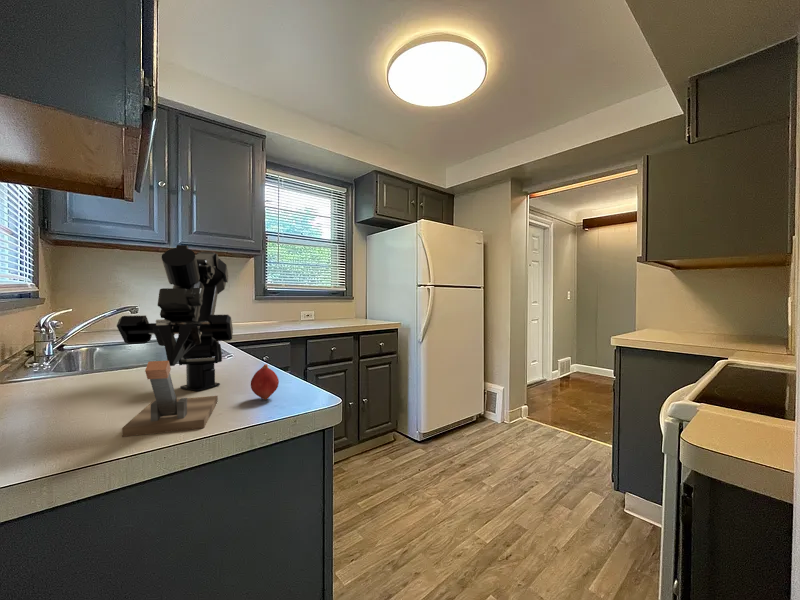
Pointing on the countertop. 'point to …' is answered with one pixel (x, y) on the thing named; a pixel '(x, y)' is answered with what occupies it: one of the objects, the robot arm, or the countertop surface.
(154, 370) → the lever
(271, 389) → the onion
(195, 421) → the lever base
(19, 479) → the countertop surface
